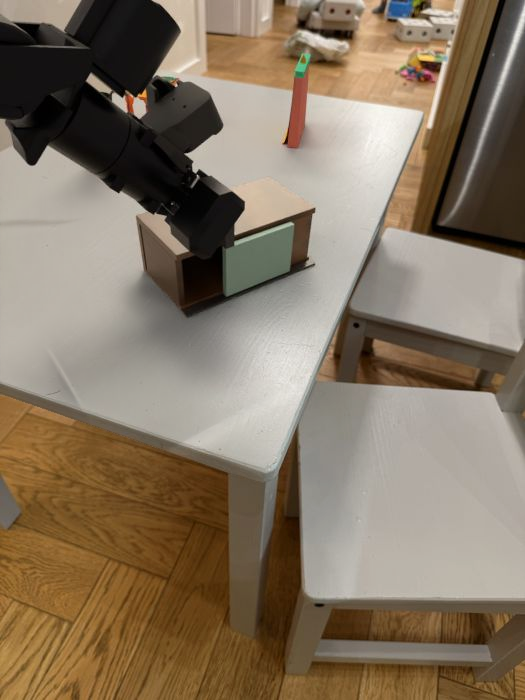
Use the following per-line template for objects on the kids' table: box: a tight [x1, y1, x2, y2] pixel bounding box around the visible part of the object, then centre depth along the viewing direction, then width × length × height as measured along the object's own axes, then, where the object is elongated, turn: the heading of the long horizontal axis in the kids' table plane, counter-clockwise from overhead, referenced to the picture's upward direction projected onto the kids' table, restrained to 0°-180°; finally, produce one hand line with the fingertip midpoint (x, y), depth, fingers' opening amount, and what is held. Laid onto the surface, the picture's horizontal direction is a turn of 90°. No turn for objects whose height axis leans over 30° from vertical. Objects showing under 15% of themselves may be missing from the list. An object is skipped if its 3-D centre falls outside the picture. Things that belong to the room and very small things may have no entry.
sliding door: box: [221, 222, 294, 297], centre depth 59 cm, size 10×1×13 cm, turn 126°
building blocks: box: [124, 53, 312, 149], centre depth 96 cm, size 12×35×14 cm, turn 80°
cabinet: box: [135, 176, 316, 318], centre depth 64 cm, size 20×11×8 cm, turn 126°
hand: (220, 222), depth 54 cm, fingers closed, pressing on sliding door
